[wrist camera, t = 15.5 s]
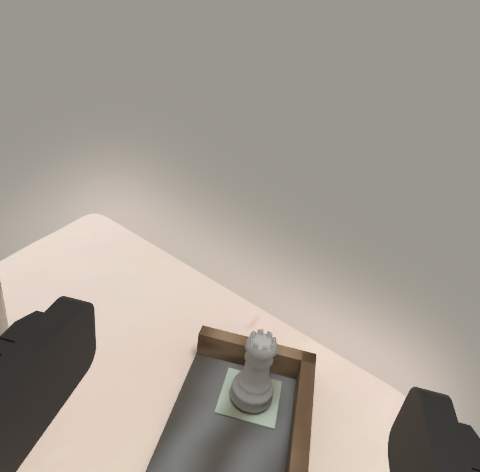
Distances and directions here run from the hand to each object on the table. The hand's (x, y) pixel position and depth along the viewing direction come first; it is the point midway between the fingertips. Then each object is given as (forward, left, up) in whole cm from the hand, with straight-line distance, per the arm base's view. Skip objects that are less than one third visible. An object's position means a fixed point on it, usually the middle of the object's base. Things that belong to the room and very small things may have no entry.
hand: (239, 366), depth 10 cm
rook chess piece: (0, +22, -27) cm, 35 cm away
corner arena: (0, +20, -28) cm, 34 cm away
